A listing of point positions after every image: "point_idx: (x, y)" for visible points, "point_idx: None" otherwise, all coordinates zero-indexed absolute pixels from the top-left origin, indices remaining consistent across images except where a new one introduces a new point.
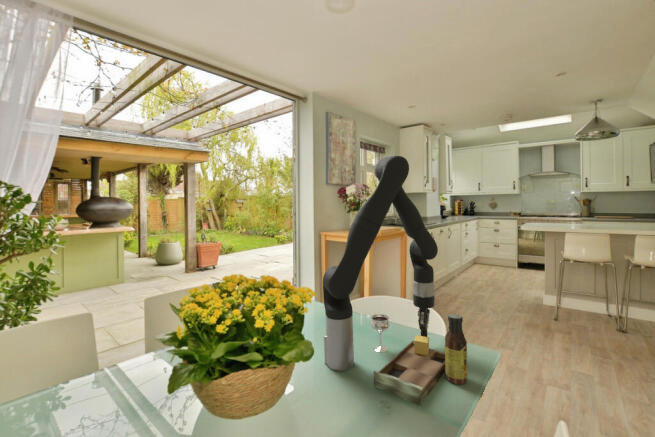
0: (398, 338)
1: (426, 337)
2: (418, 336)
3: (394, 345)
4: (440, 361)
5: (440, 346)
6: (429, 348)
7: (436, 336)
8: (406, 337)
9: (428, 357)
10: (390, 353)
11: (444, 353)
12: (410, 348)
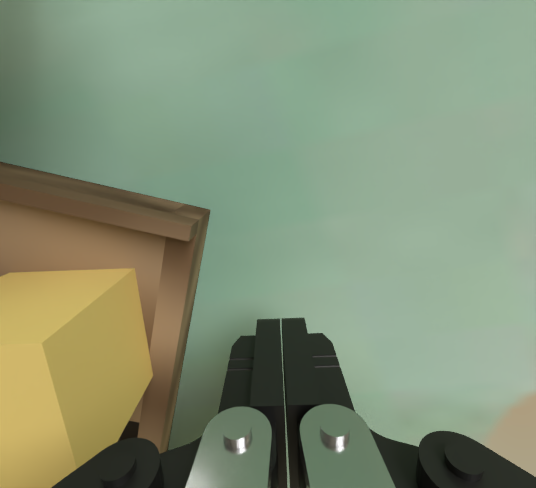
0: (382, 13)
1: (55, 476)
2: (21, 382)
3: (197, 12)
4: None
5: None
6: (173, 375)
7: (517, 358)
8: (432, 101)
9: None
10: (11, 18)
11: None
12: (79, 221)
